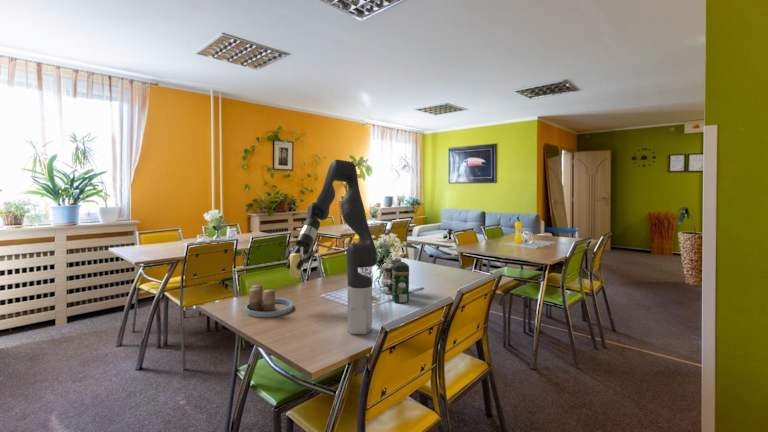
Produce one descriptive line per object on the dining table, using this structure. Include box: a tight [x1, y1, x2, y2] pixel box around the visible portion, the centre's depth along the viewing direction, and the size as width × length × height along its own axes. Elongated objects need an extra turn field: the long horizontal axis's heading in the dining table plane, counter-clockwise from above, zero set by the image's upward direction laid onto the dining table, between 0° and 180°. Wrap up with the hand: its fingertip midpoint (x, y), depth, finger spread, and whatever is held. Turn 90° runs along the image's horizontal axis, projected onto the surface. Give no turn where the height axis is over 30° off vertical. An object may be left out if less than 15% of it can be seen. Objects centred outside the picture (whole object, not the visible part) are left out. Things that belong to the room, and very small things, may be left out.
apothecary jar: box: [380, 257, 403, 295], centre depth 191 cm, size 12×12×18 cm
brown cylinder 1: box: [248, 287, 262, 312], centre depth 158 cm, size 5×5×10 cm
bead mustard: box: [289, 253, 302, 279], centre depth 164 cm, size 5×5×10 cm
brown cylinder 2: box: [263, 288, 276, 312], centre depth 156 cm, size 5×5×10 cm
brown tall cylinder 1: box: [250, 284, 264, 310], centre depth 163 cm, size 5×5×10 cm
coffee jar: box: [391, 261, 410, 304], centre depth 177 cm, size 10×8×19 cm
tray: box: [244, 297, 294, 318], centre depth 162 cm, size 20×20×2 cm
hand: (292, 268), depth 162 cm, fingers closed on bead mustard, 4 cm apart
